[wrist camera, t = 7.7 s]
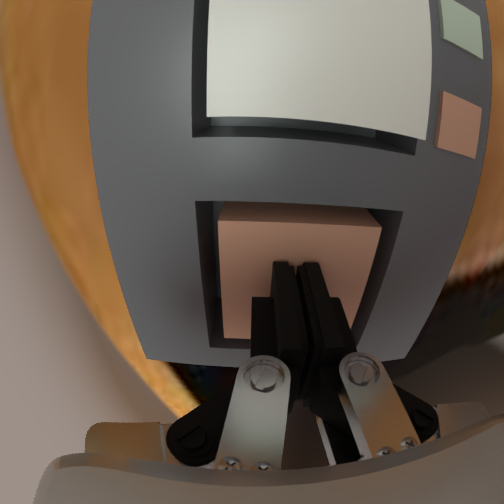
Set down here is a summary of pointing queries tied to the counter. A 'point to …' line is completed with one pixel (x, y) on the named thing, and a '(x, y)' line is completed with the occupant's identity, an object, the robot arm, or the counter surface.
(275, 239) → the terracotta key
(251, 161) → the keyguard board
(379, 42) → the white key
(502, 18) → the counter surface
